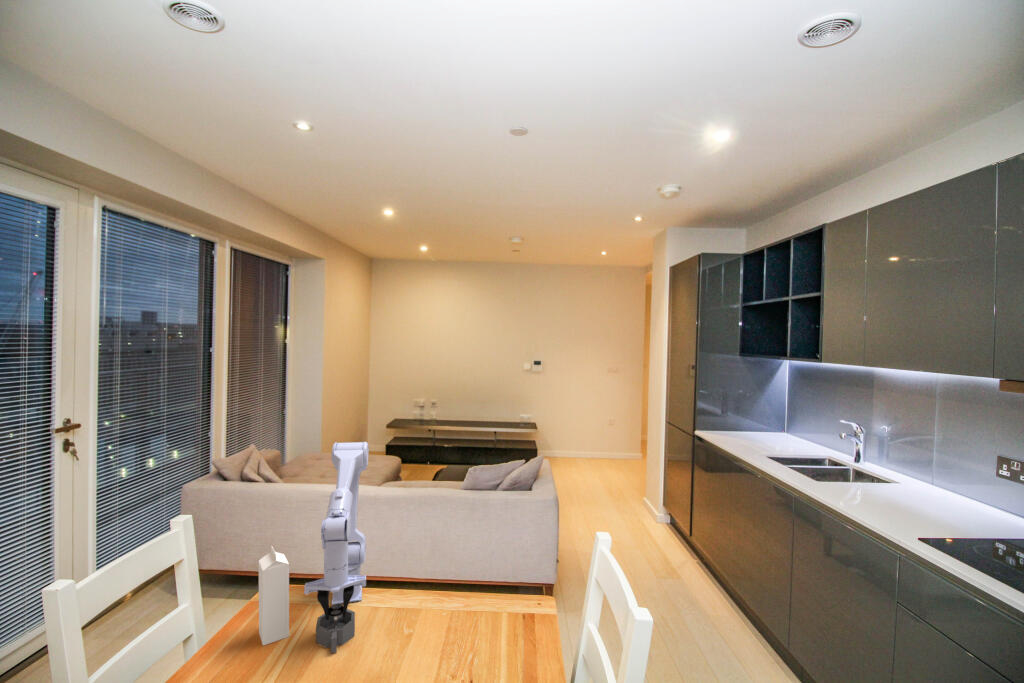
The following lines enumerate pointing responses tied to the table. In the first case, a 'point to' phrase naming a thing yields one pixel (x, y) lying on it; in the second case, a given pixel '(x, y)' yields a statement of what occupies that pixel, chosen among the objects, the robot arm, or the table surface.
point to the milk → (273, 597)
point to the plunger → (335, 616)
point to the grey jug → (335, 630)
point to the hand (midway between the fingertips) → (335, 616)
